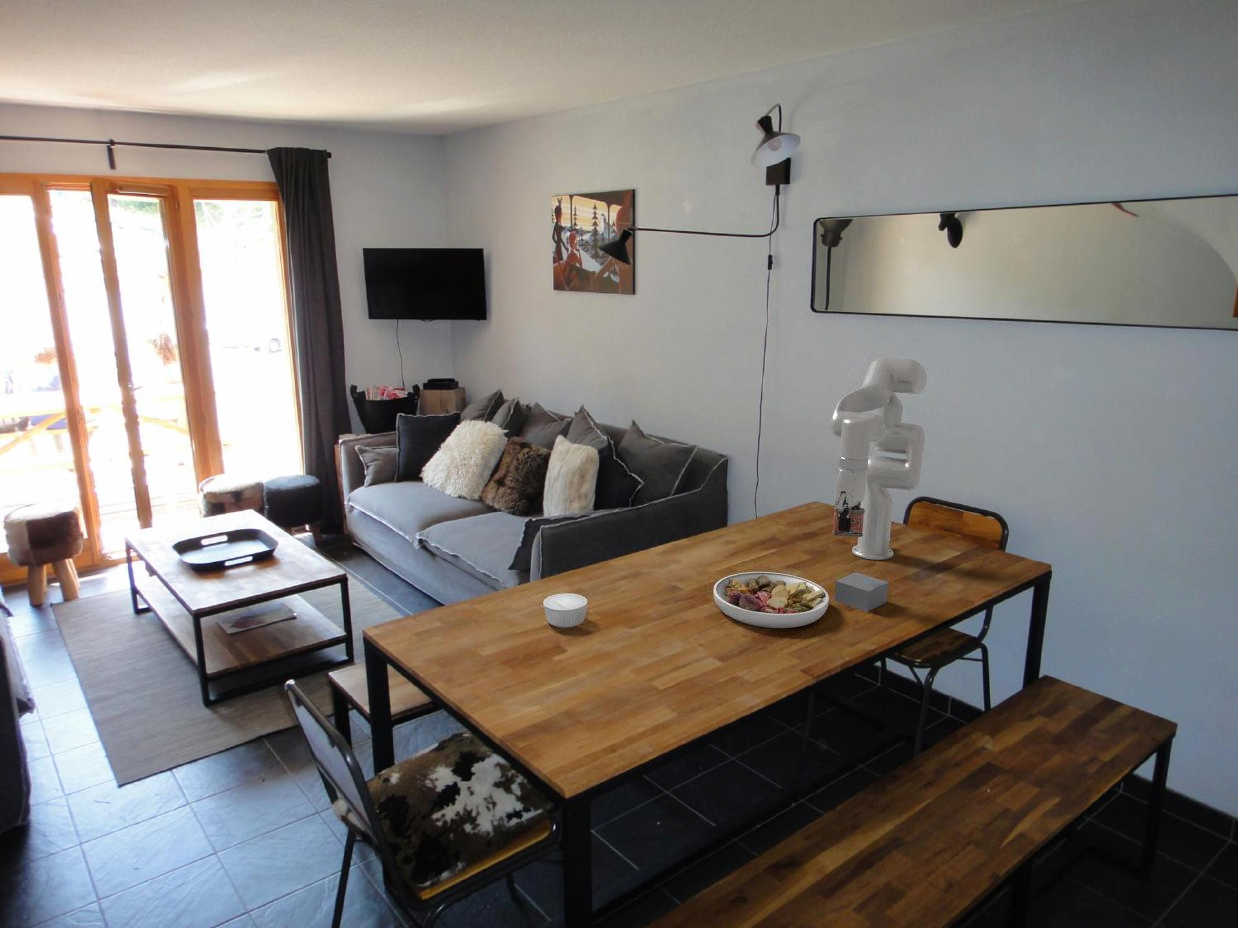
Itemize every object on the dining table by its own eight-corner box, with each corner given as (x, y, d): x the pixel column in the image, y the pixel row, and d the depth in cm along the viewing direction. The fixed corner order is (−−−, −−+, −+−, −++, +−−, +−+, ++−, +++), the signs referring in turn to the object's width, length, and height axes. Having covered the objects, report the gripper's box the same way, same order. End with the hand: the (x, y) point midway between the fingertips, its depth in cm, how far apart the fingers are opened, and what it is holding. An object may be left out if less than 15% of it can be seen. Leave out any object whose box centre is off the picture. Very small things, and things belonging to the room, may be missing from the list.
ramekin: (535, 625, 211) (535, 605, 210) (555, 608, 221) (555, 590, 220) (576, 632, 207) (576, 612, 206) (594, 615, 217) (594, 596, 216)
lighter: (862, 534, 230) (864, 498, 228) (863, 537, 226) (866, 501, 224) (831, 532, 231) (834, 496, 229) (832, 535, 228) (835, 500, 226)
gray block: (854, 592, 236) (855, 572, 234) (886, 602, 228) (888, 582, 227) (834, 601, 229) (835, 580, 228) (866, 612, 222) (868, 591, 220)
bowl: (745, 580, 244) (746, 554, 242) (844, 605, 227) (847, 577, 225) (692, 613, 220) (693, 585, 218) (799, 644, 203) (801, 613, 201)
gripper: (853, 456, 233) (848, 519, 237) (826, 467, 220) (821, 533, 224) (879, 460, 228) (873, 524, 233) (853, 471, 215) (848, 539, 220)
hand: (848, 528), depth 228 cm, fingers closed on lighter, 4 cm apart
